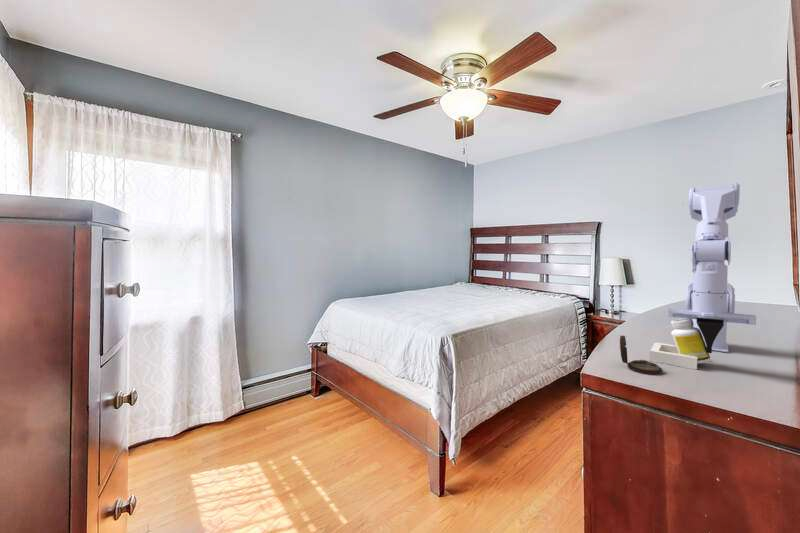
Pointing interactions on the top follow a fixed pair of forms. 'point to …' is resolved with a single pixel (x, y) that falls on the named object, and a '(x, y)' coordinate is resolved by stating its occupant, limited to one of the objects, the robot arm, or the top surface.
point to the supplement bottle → (689, 340)
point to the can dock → (671, 356)
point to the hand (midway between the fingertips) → (708, 352)
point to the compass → (638, 361)
